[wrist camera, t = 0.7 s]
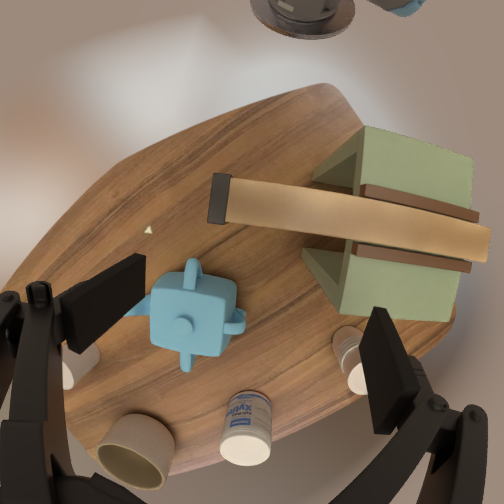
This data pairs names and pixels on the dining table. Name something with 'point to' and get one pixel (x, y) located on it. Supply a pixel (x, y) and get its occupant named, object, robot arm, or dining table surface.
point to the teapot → (192, 313)
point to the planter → (137, 452)
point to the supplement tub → (247, 429)
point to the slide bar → (343, 217)
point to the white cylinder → (78, 364)
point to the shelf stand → (389, 257)
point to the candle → (350, 357)
